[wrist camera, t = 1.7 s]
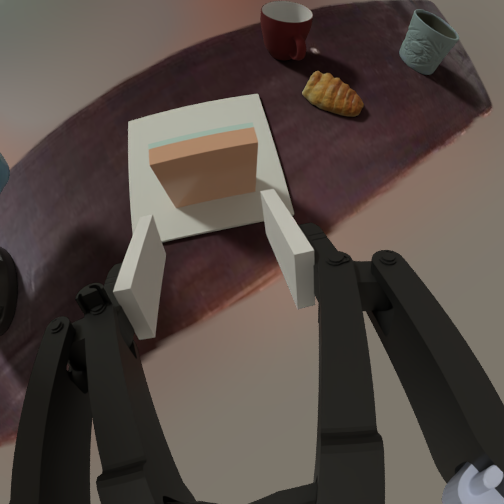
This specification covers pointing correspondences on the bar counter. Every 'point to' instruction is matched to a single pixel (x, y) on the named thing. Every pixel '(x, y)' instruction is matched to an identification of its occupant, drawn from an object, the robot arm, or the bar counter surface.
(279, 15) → the mug
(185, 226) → the mat
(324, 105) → the pastry
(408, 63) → the green ceramic cup
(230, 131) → the tile
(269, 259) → the bar counter surface
